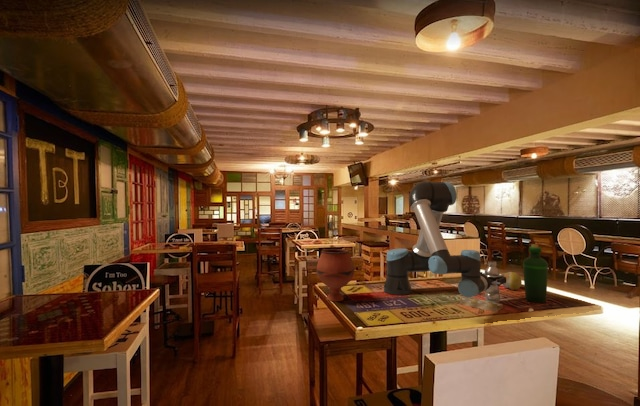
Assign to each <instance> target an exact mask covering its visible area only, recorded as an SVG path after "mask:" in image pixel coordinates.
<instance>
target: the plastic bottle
mask: <svg viewBox="0 0 640 406" xmlns="http://www.w3.org/2000/svg"><path fill="white" fill-rule="evenodd" d="M497 265H498V264H497V261H495V260H493V261H492V260H490V261H489V260H488V261H487V267H486V268H485V269H484V273H485V275H486V276H487V277H498V276H499V275H501V273H500V270H499V269H498V268H497ZM484 299H485V301H488V302H493V303H498V304H500V302H501V294H500V286H497V285H496V284H493V285H491V286H490V287H489V289H487V290H485V294H484Z"/></svg>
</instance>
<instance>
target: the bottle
mask: <svg viewBox="0 0 640 406" xmlns="http://www.w3.org/2000/svg"><path fill="white" fill-rule="evenodd" d="M530 245H531V246H529V247H528V252H529V256H528V257H526V258H524V260H523V261H522V269H523V270H522V271H523V281H524V282H523V284H524V296H525V300H528V301H529V302H533V303H539V304H543V303H546V302H547V291H548V290H547V289H548V288H547V287H548V270H549V263H548V262H547V261H546V260H545V259H544V258H543V257H541V253H542V248H541V247H539V244H538V243H537V244H536V243H535V244H534V243H532V244H530Z"/></svg>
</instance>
